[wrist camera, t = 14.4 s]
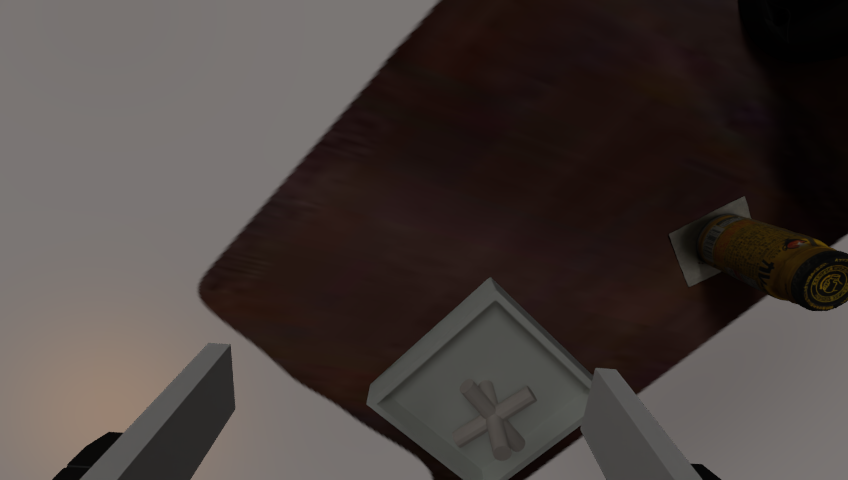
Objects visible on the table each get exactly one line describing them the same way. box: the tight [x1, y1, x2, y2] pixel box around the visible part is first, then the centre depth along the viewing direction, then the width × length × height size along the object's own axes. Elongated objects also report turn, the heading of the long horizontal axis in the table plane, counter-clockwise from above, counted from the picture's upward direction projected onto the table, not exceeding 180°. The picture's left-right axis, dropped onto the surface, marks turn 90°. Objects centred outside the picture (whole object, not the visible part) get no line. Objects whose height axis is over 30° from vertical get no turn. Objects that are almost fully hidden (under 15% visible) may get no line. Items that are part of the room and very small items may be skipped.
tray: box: [367, 277, 593, 480], centre depth 46 cm, size 20×20×4 cm
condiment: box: [669, 196, 848, 311], centre depth 37 cm, size 7×8×12 cm
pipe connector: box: [452, 379, 537, 461], centre depth 43 cm, size 10×10×10 cm
